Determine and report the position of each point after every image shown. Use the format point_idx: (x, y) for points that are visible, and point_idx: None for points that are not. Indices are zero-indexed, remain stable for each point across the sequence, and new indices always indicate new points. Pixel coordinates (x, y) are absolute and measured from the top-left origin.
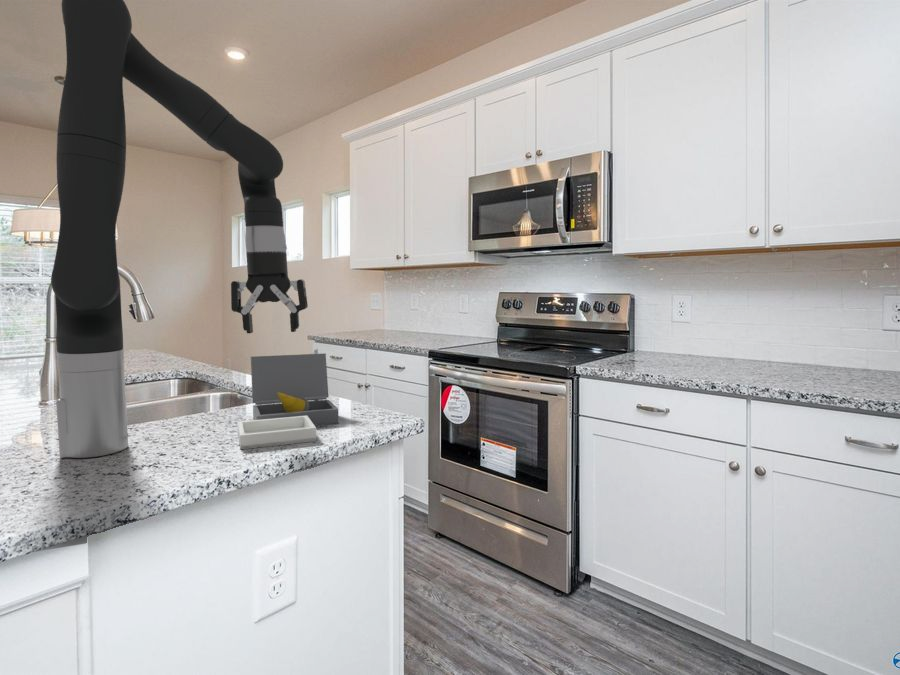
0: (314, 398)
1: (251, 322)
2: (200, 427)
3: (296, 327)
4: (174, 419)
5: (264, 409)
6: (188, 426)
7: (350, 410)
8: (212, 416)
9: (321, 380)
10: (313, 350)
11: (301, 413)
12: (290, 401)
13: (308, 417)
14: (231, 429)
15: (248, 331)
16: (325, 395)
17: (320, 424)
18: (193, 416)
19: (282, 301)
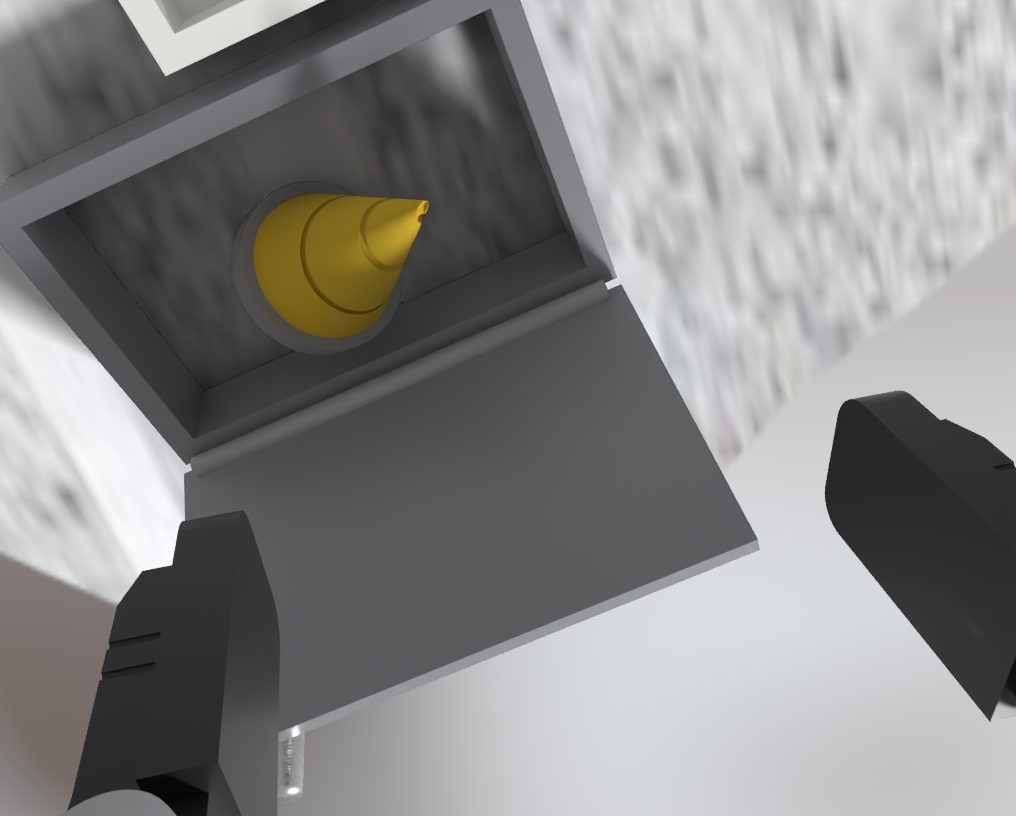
0: (261, 430)
1: (913, 577)
2: (852, 49)
3: (147, 583)
4: (1006, 218)
5: (540, 273)
6: (920, 71)
7: (83, 471)
8: (826, 289)
9: None
10: (299, 780)
11: (217, 99)
12: (335, 214)
13: (125, 9)
14: (664, 3)
15: (882, 395)
16: (202, 478)
17: (115, 127)
18: (921, 283)
19: None
